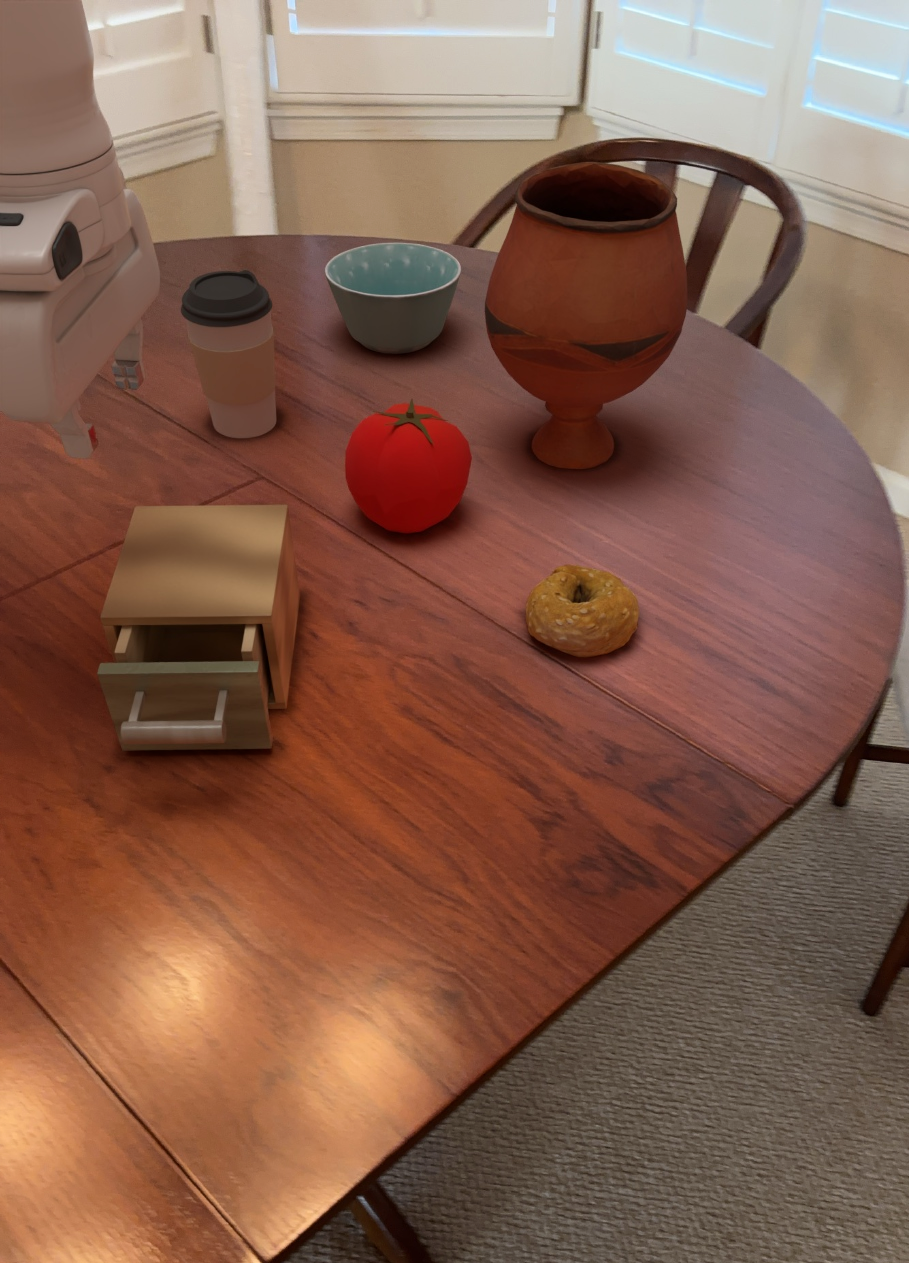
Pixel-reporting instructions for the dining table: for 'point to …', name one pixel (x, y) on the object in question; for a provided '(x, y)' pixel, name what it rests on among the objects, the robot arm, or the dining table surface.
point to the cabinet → (210, 576)
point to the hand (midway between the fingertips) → (108, 417)
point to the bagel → (582, 611)
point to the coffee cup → (233, 350)
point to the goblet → (586, 298)
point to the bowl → (394, 294)
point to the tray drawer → (189, 687)
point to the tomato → (407, 467)
